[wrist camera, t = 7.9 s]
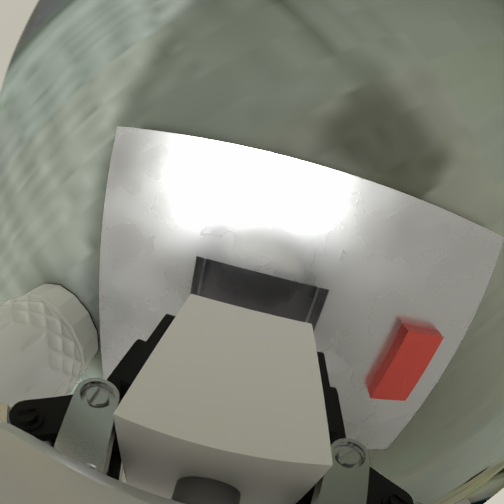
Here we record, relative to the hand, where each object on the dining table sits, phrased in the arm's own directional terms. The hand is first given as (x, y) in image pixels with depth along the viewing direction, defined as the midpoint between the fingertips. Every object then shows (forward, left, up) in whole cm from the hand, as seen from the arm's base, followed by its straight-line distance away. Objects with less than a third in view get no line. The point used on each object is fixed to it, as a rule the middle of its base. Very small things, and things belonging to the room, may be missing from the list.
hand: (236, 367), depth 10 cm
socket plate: (-2, 0, -6) cm, 6 cm away
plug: (0, 0, -1) cm, 1 cm away
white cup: (+13, +6, -6) cm, 15 cm away
